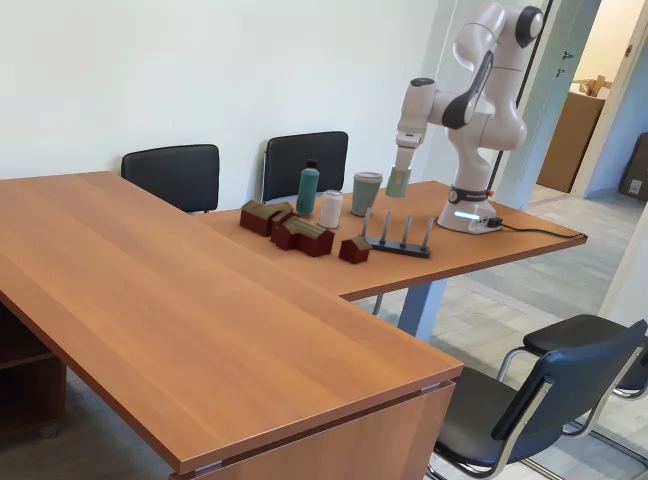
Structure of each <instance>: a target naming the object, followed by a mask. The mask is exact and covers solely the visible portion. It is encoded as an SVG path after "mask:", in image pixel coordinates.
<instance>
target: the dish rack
mask: <svg viewBox="0 0 648 480" xmlns="http://www.w3.org/2000/svg"><path fill="white" fill-rule="evenodd" d="M371 211H372V209H370V208H368V209H367V212H366V216H364V222H363V226H362V230H361V234H357V237H356V238H358V237H364V238H365V239H366V240H367V241H368V243H369V244H370V245H371V246H372V247H373V248H372V247H371V248H370V250H371V249H372V250H376V251H377V250H378V251H382V252H383V251H384V252H388V253H393V254H400V255H406V256H410V257H411V256H412V257H416V258H417V257H418V258H423V259H429V255H430V246H428V242H429V238H430V234H431V231H432V227H433V223H434V217H430V218H429V221H428V223H427V228H426V231H425V235H424V239H423V241H422V245H420V244H415V243H409V242H407V239H408V236H409V231H410V228H411V223H412V220H413V215H412V214H409V215H408V216H407V219H406V224H405V228H404V231H403V236H402V240H401V241H397V240H391V239H387V235H388V229H389V225H390V221H391V217H392V211H390V210H389V211H387V214H386V218H385V222H384V225H383V230H382V235H381V238H380V237H374V236H368V235H366V233H367V228H368V224H369V220H370V215H371ZM370 245H369V246H370Z"/></svg>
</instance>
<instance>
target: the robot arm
mask: <svg viewBox="0 0 648 480" xmlns="http://www.w3.org/2000/svg"><path fill="white" fill-rule="evenodd" d="M543 26H544V14H543V11H542V9H541V8H539V7H537V6H533V5H521V4H520V5H519V4H501V3H499V2H497V1H488V2H484V3H483V4H481V5H480V6H479V7H478V8H477V9H476V10H475V11H474V12H473V13H472V14H471V16H470V17H469V18H468V19H467V20H466V22H464V25H463V26H462V27H461V29H460V30H459V31H458V33H457V35H456V37H455V38H454V41H453V44H452V52H453V56H454V58H455V59H456V61H457V62H458V63H459V65H461V66H462V67H464V68H466V69H467V70H469V71H470V72H471V74H470V76H469V78H468V81H467V83H466V85H465V87H464V89H463V90H462V91H459V92H452V91H446V90H443V89H439V88H437V87H436V81H435V79H432V78H429V77H416V78H413V79H411V80H410V81H409V82H408V84H407V86H406V89H405V91H404V93H403V97H402V101H401V103H400V104H401V105H400V109H399V110H400V115H399V119H398V121H397V122H396V126H395V131H394V134H393V138H392V139H393V141H394V142H395V146H396V153H395V161H394V164H395V172H397V174H396V180H395V184H401V181H402V177H403V175H404V173H406V172H407V170H408V168H409V166H410V165H411V163H412V160H413V157H414V154H415V152H416V150H417V149H418V148H419V146H421V145H422V144H424V141H425V138H426V137H425V136H426V134H427V128H428V124H432V125H436V126H441V127H444V132H445V136H446V138H447V140H448V141H449V142H450V144H451V145H452V146H453V149H454V151H455V154H456V167H455V173H454V177H453V181H452V183H451V184H450V187H449V190H448V197H447V198H446V202H445V204H444V206H443V209H442V210H441V211H442V212H441V213H440V214H439V217H438V219H437V221H436V223H437V224H438V225H439V226H441V227H442V228H446V229H448V230H452V231H458V232H463V233H468V234H473V235H478V234H484V233H489V232H494V231H500V230H501V227H503V228H506V229H510V230H513V231H517V232H540V233H544V234H548V235H552V236H555V237H558V238H559V237H560V238H566V239H573V238H576V237H579V236H582V237H584V238H585V239H588V236H587V235H586V234H585V233H583V232H579V233H580V234H579V233H577V234H578V235H579V236H578V235H577V234H574V235H575V236H573V235H565V234H560V233H556V232H553V231H549V230H545V229H540V228H517V227H514V226H511V225H507V224H505V223H503V221H504V218H502V217H499V216H497V211H496V209H495V208H494V207H493V206H492V204H491V203H489V201H488V200H487V198H488V197H490V198H492V197H493V196H494V194H495V191H493V190H491V189H488V190H487V185H488V182H489V179H490V175H491V173H492V167H491V166H492V165H491V164H490V163H489V162H488V160H487V159H485V158H484V157H482V156H481V154H480V153H479V149H480V148H481V149H487V150H492V151H494V150H495V151H501V152H502V151H503V152H507V151H509V152H510V151H515V150H517V149H519V148H520V147H521V146H522V145H523V144H524V142H525V141H526V139H527V136H528V126H527V123H526V122H525V121H524V120H523V118H522V117H521V116H520V113H519V111H518V108H517V103H516V102H517V101H516V100H517V99H516V97H517V91H518V88H519V85H520V84H519V83H520V80H521V77H522V74H523V70H524V67H525V65H526V64H525V63H526V60H527V55H528V47H529V45H530V44H531V43H532V42H534V40H536V38H537V37H539V35H540V33H541V31H542V28H543ZM480 97H482V98H483V99H484V100H485V101H486V102H487V103H489V104H490V105H491V106H492V107H493V112H492V113H488V112H487V113H486V112H481V111H480V112H479V111H476V107H477V104H478V101H479V99H480ZM582 234H584V235H582ZM585 235H586V236H585Z"/></svg>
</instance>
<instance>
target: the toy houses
mask: <svg viewBox="0 0 648 480" xmlns="http://www.w3.org/2000/svg"><path fill="white" fill-rule="evenodd" d="M239 209H241V210H240V217H239V226H240V227H242V228H244V229H247V230H249V231H251V232H253V233H255V234H257V235H260V236H262V237H264V238H270V242H272V243H274V244H275V247H277V248H279V249H281V250H283V251H286V252H287V251H291V250H297V251H299V252H301V253H303V254H306V255H308V256H310V257H312V258H317V257H322V256H326V255H331V254H332V251H333V246H334V240H335V236H336V233H335V232H333V231H331V230H330V229H328V228H323V227H321V226H320V225H318V224H315V223H313V222H310V221H308V220H305V219H303V218H302V216H301V215H299V213H298V214H297V212H296V213H295V212H294V211H296V208H295V207H294V206H292V204H291V203H290V202H289V201H287V200H285V201H280V202H275V203H269V204H264V203H261V202H259V201H257V200H254V199H250V200H248V201H247V202H246V203H244V204H243V205H242V206H241V207H240V208H239ZM357 237H358V236H357ZM357 237H352V238H348V239H343V240H339V242H340V248H339V252H338V258H339V259H341V260H344V261H346V262H348V263H350V264H352V265H357V264H361V263H365V262H368V260H369V255H370V251H371V247H372V246H371V245H370V244H369V243H368V241H367V240H366V239H365V238H364V237H358V238H357ZM369 245H370V246H369ZM372 248H373V247H372Z"/></svg>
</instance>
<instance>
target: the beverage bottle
mask: <svg viewBox="0 0 648 480" xmlns="http://www.w3.org/2000/svg"><path fill="white" fill-rule="evenodd" d="M318 166H319V161H318V160H317V159H313V158H312V159H311V158H309V159H307V160H306V162H305V167H307V168H305V169H303V170H302V171H301V176H300V180H299V187H298V192H297V193H298V194H297V197H296V203H295V212H296V213H298V214H301V215H311V214H313V212H314V208H315V201H316V196H317V189H318V183H319V177H320V172H319V171H318V170H317V169H316V168H319V167H318Z"/></svg>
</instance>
